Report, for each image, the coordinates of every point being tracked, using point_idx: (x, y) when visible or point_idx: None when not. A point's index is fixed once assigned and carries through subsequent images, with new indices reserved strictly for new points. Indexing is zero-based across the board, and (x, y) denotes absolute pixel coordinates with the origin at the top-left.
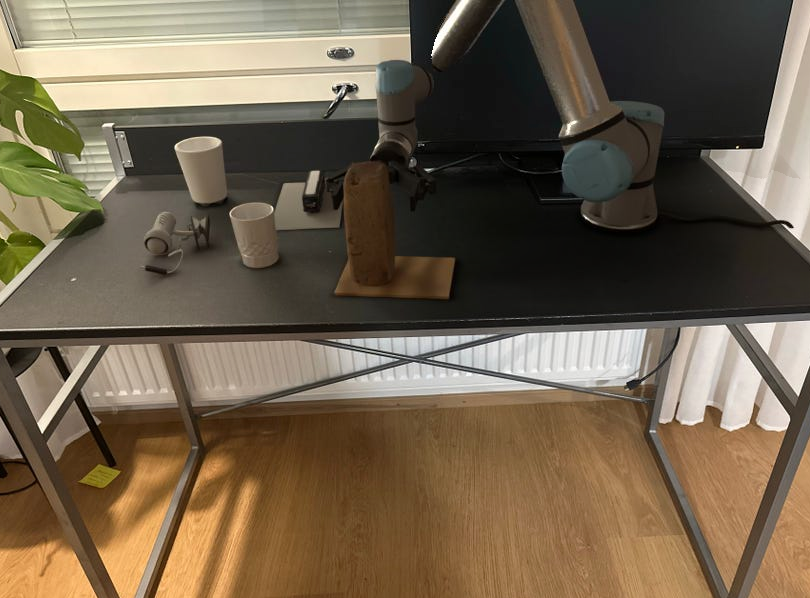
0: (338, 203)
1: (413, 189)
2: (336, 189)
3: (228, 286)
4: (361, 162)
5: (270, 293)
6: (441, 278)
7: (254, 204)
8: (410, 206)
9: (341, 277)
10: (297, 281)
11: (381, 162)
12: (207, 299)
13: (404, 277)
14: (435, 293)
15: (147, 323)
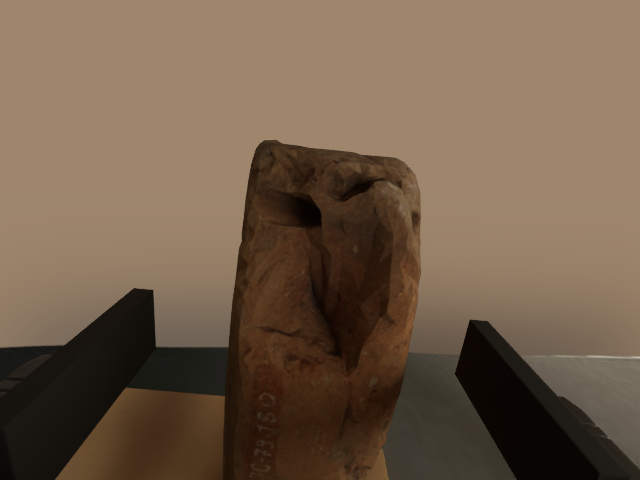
0: (468, 373)
1: (95, 334)
2: (517, 360)
3: (629, 456)
4: (376, 164)
5: None
6: (97, 460)
7: None
8: (153, 330)
9: (385, 472)
10: (495, 476)
11: (277, 143)
12: (606, 411)
13: (207, 468)
14: (148, 397)
15: (609, 361)
